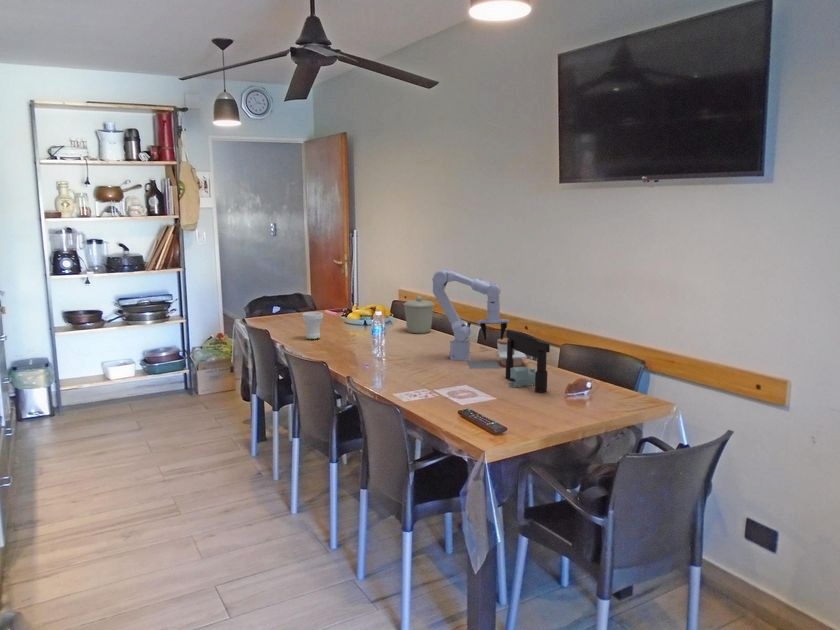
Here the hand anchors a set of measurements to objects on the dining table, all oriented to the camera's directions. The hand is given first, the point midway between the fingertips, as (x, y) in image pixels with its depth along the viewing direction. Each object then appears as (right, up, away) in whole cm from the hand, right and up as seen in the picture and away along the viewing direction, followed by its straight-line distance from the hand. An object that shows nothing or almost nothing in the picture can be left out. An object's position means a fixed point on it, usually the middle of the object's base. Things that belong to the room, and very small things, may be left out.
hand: (493, 339), depth 309 cm
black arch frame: (+9, -17, -38) cm, 43 cm away
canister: (-35, +1, +72) cm, 80 cm away
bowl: (+8, -12, -6) cm, 15 cm away
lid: (+8, -7, -7) cm, 13 cm away
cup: (-93, -2, +51) cm, 106 cm away
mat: (-5, -12, -7) cm, 15 cm away
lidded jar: (+9, -9, +13) cm, 18 cm away
